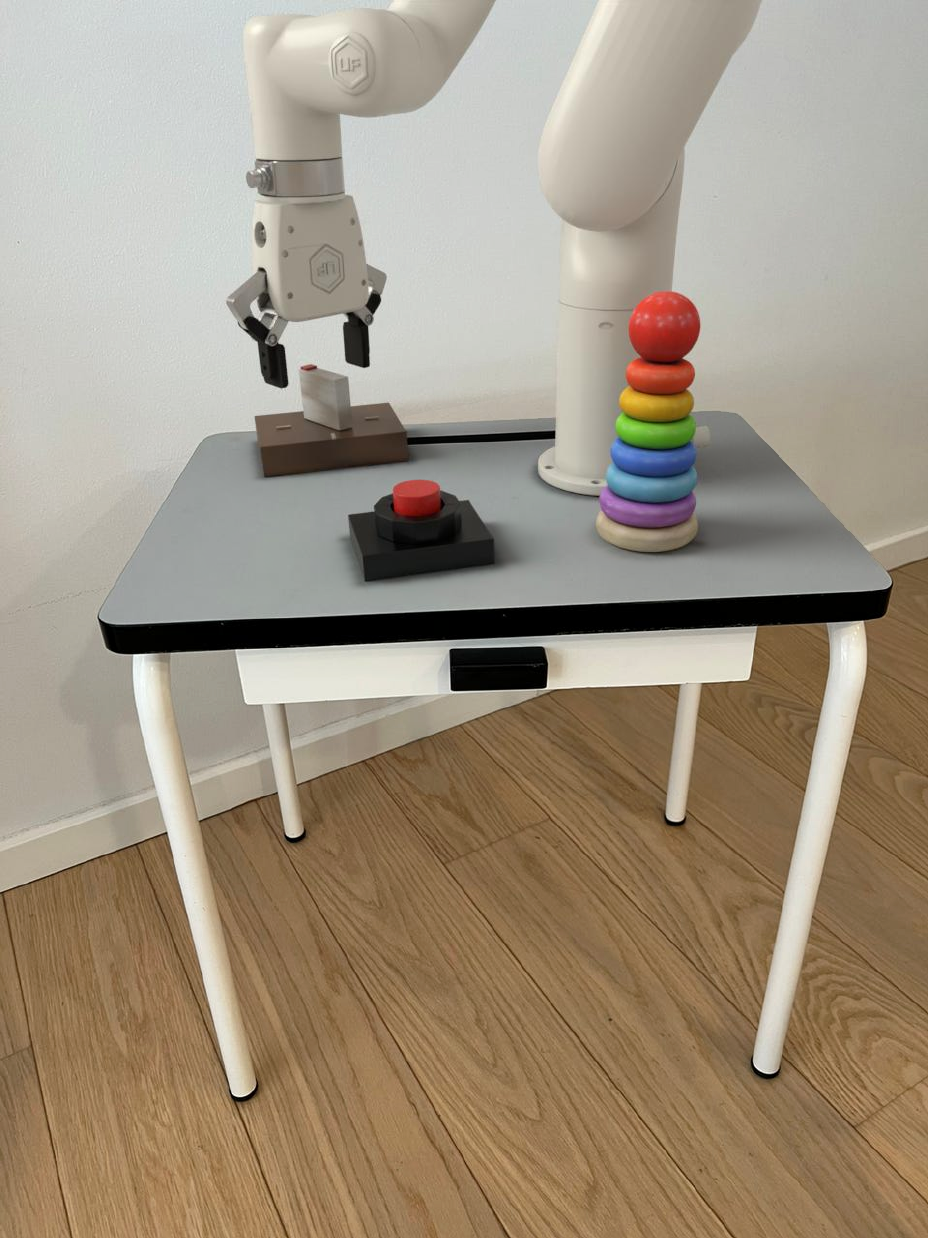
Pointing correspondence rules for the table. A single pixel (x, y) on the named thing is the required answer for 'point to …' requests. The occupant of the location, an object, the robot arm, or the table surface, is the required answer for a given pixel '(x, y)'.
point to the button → (416, 497)
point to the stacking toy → (654, 433)
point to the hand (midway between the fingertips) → (318, 374)
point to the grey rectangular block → (325, 397)
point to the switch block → (419, 539)
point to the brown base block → (330, 441)
